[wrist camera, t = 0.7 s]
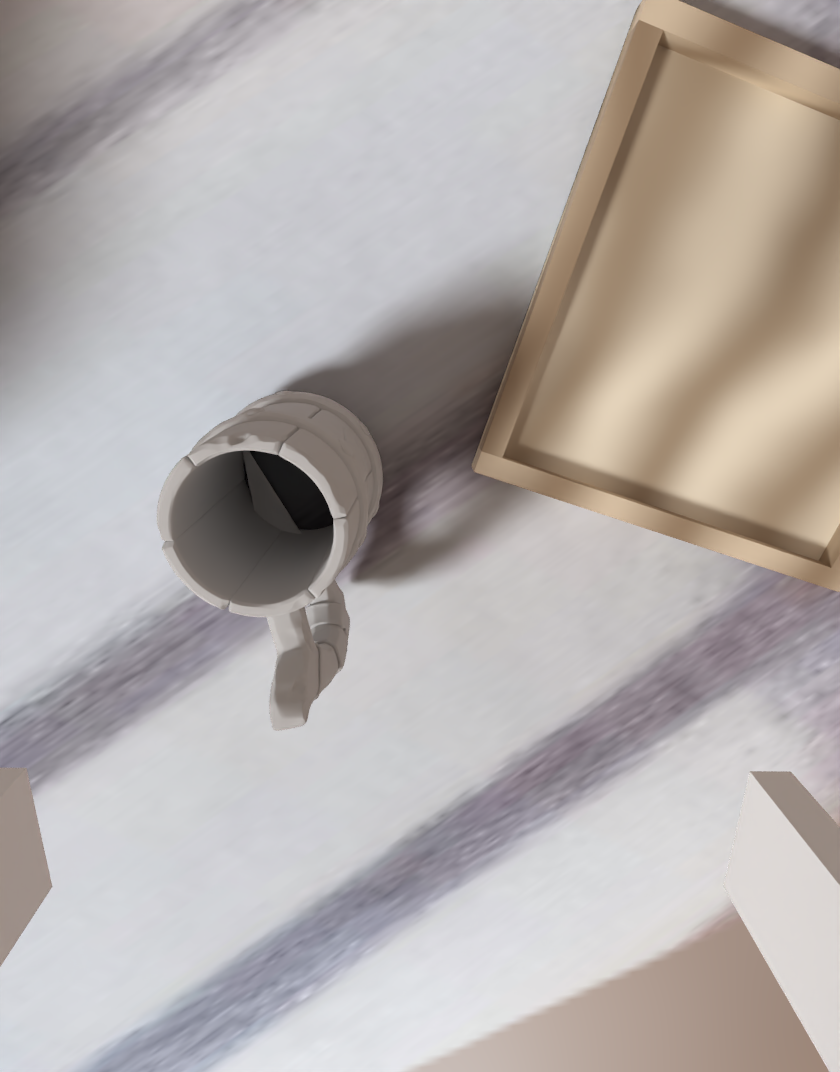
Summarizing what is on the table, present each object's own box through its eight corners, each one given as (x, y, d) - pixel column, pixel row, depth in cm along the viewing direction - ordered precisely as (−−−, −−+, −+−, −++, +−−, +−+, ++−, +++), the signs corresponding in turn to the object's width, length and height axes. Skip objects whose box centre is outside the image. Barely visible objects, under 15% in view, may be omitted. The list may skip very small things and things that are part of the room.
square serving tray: (471, 465, 29) (474, 472, 28) (636, 9, 24) (650, -12, 22) (819, 580, 31) (839, 591, 30) (1047, 183, 25) (1085, 173, 24)
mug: (364, 372, 28) (327, 393, 16) (416, 603, 31) (416, 753, 20) (204, 406, 28) (60, 450, 17) (274, 630, 32) (194, 792, 20)
